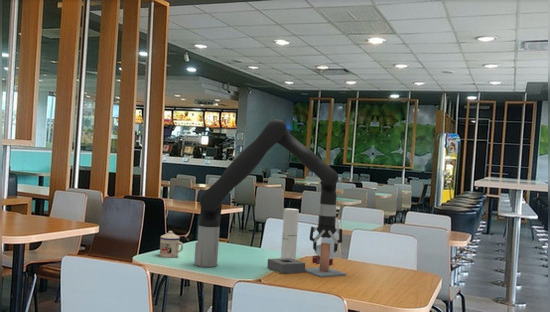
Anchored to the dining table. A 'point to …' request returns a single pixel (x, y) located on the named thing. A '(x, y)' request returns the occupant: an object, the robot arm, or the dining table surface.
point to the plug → (324, 257)
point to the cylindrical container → (289, 233)
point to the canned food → (317, 258)
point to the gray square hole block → (286, 265)
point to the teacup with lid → (170, 245)
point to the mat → (324, 274)
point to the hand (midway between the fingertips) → (325, 251)
